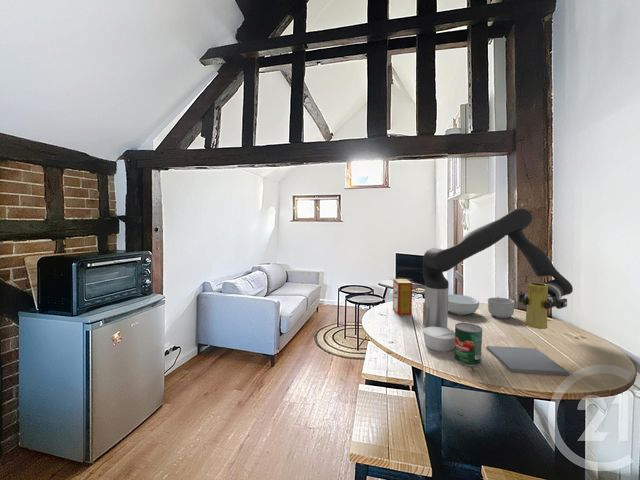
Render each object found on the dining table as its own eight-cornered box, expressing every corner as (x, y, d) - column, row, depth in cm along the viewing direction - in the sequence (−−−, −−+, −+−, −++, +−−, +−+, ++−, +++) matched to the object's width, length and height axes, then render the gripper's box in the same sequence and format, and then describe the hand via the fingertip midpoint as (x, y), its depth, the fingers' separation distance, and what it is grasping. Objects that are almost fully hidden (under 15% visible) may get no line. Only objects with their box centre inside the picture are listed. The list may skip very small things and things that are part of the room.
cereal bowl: (437, 313, 142) (437, 299, 141) (444, 305, 156) (444, 292, 155) (476, 320, 132) (476, 305, 132) (480, 311, 146) (481, 297, 145)
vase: (551, 329, 95) (554, 286, 94) (530, 328, 96) (532, 285, 95) (541, 323, 101) (543, 282, 100) (521, 322, 102) (523, 281, 101)
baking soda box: (411, 315, 140) (412, 282, 139) (397, 315, 140) (398, 282, 139) (405, 309, 149) (406, 278, 148) (392, 309, 149) (393, 278, 148)
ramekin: (454, 356, 97) (455, 340, 97) (419, 349, 103) (420, 334, 102) (457, 344, 107) (457, 329, 107) (425, 338, 112) (425, 324, 112)
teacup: (514, 321, 131) (514, 304, 130) (486, 317, 137) (487, 300, 136) (513, 313, 143) (513, 297, 142) (487, 309, 149) (488, 294, 148)
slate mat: (510, 371, 87) (510, 368, 87) (486, 348, 103) (486, 345, 103) (568, 375, 85) (569, 371, 85) (535, 351, 101) (535, 348, 101)
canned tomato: (452, 362, 93) (453, 328, 92) (455, 352, 100) (456, 321, 99) (480, 368, 89) (481, 333, 88) (481, 358, 95) (483, 325, 95)
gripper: (523, 282, 112) (510, 288, 101) (572, 288, 102) (564, 297, 90) (522, 301, 113) (509, 310, 101) (571, 309, 102) (562, 320, 91)
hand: (535, 304), depth 96 cm, fingers closed on vase, 5 cm apart
